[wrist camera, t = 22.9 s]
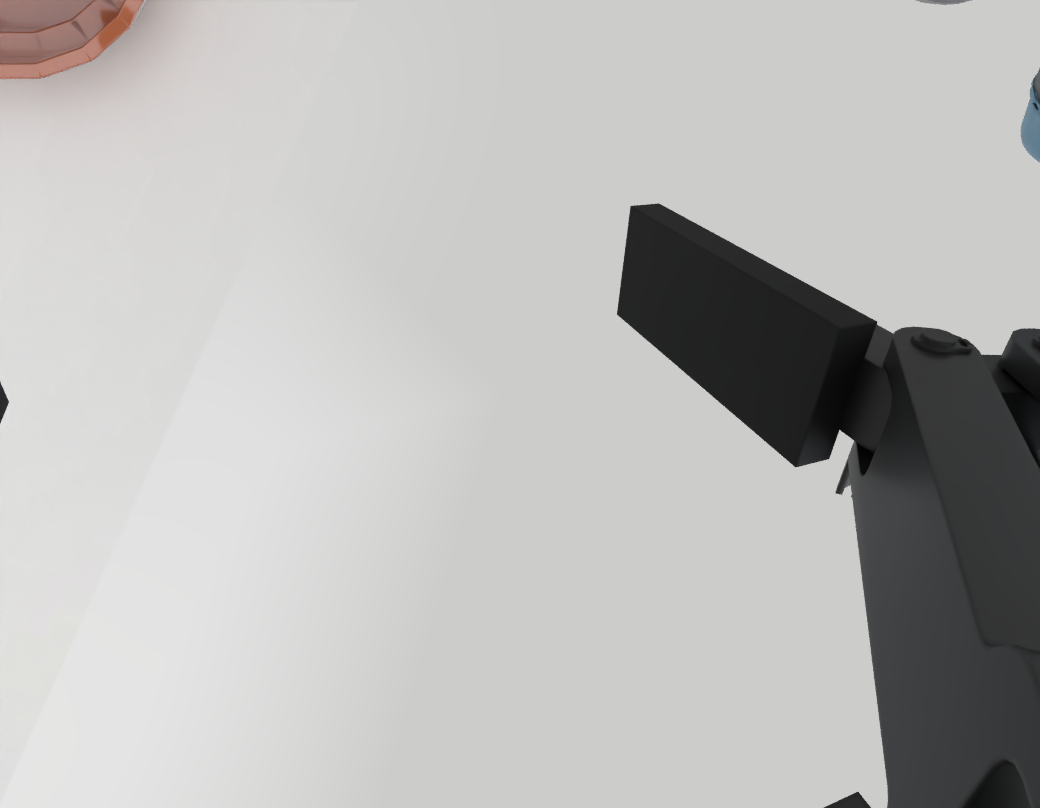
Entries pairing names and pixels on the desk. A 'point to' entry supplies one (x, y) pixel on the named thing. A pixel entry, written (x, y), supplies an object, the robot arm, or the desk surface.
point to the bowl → (59, 33)
